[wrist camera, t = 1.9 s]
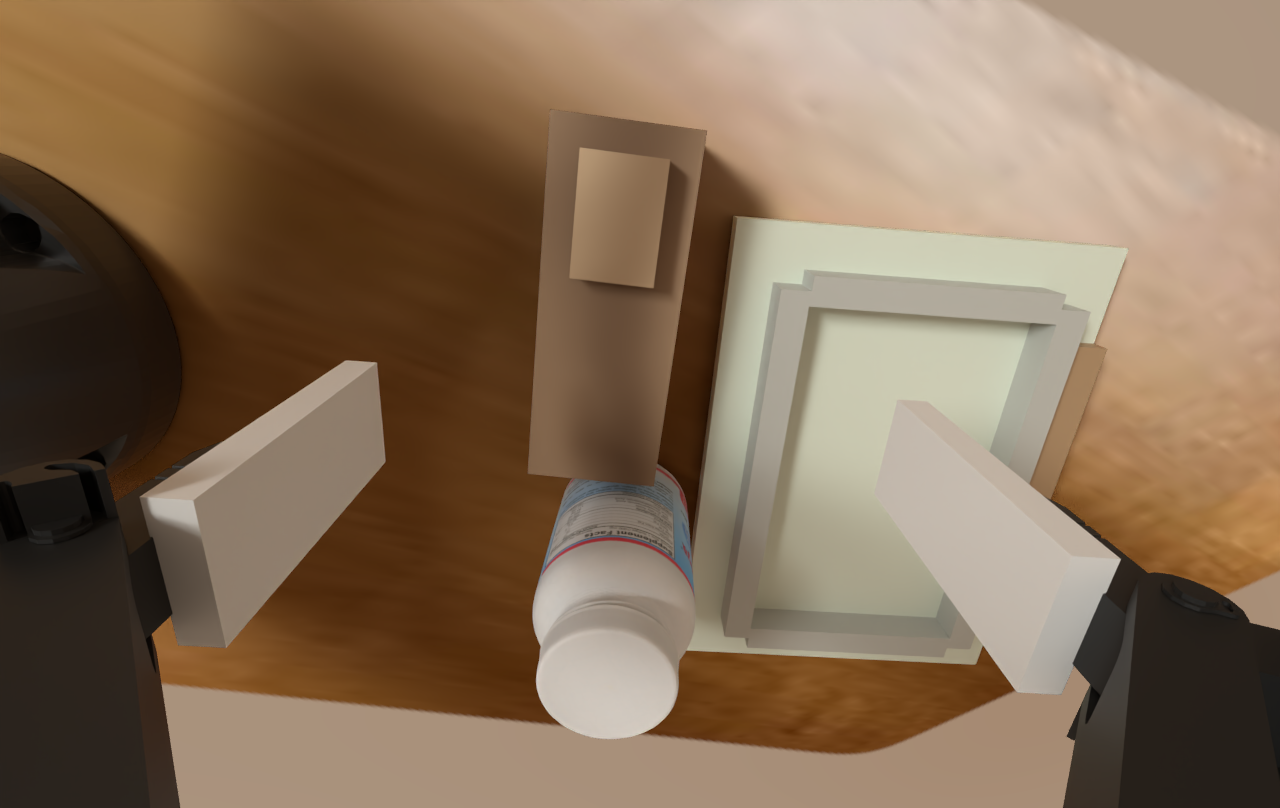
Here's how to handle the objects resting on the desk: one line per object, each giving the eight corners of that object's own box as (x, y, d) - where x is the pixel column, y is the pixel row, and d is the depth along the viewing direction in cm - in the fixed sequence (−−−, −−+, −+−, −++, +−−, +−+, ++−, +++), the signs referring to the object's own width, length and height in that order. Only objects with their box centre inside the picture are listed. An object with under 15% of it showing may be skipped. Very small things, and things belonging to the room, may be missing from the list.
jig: (679, 636, 33) (683, 672, 31) (733, 215, 25) (743, 221, 22) (966, 650, 33) (991, 686, 31) (1110, 245, 25) (1158, 253, 23)
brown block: (544, 422, 28) (523, 486, 23) (566, 119, 24) (545, 106, 18) (650, 434, 29) (654, 499, 23) (692, 137, 24) (710, 128, 18)
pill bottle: (662, 570, 31) (663, 776, 21) (548, 535, 30) (490, 728, 20) (706, 472, 29) (733, 647, 18) (584, 431, 28) (541, 589, 18)
